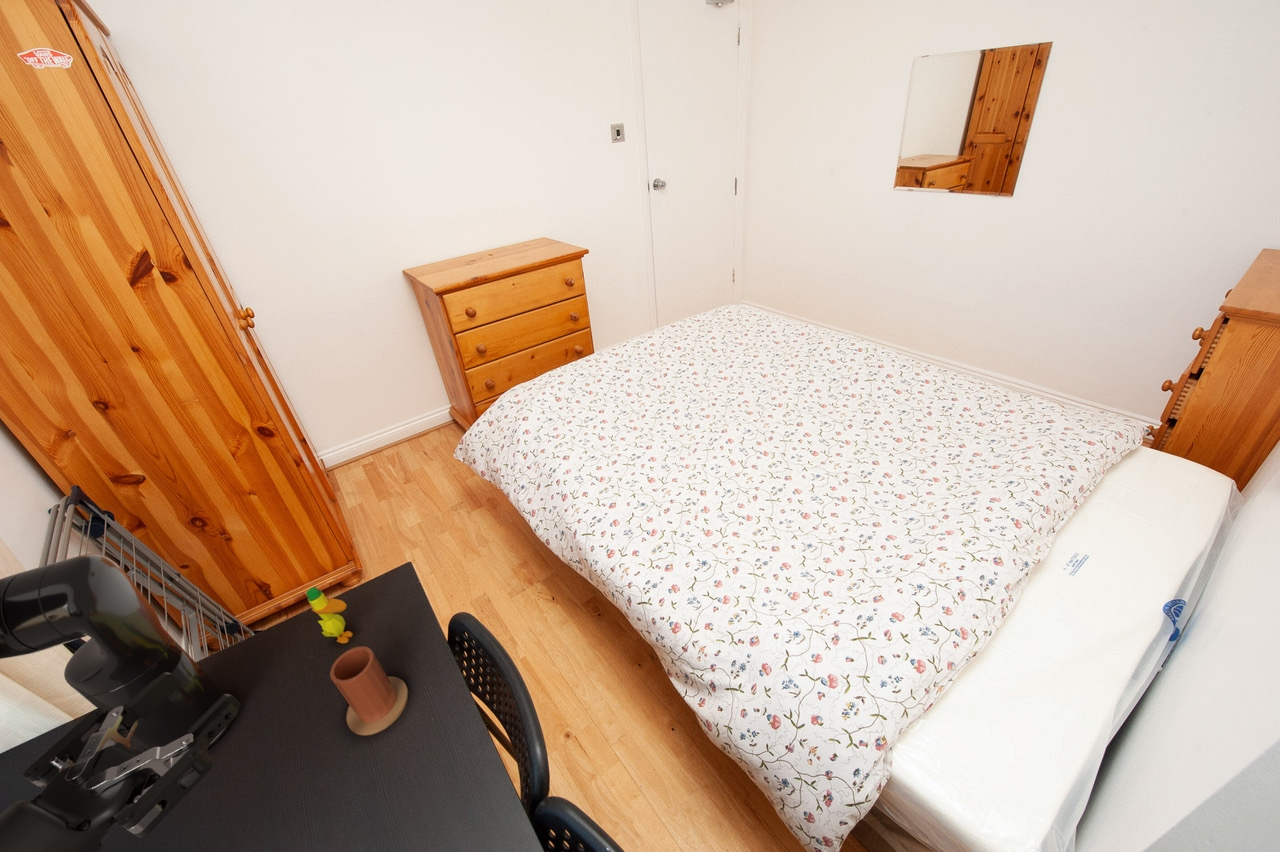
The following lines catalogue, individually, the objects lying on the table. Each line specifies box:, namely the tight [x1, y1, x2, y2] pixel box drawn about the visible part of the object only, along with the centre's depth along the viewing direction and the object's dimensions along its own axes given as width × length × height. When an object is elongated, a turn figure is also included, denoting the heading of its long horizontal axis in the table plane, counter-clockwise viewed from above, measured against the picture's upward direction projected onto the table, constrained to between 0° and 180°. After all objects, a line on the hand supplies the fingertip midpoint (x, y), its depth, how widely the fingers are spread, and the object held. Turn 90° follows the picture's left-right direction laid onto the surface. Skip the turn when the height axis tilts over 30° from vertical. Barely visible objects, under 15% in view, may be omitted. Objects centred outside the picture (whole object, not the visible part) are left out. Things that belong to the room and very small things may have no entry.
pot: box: [329, 645, 397, 723], centre depth 71 cm, size 5×5×10 cm
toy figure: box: [305, 586, 354, 644], centre depth 81 cm, size 7×4×12 cm, turn 84°
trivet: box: [345, 676, 409, 736], centre depth 74 cm, size 8×8×1 cm
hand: (203, 687), depth 50 cm, fingers open, 8 cm apart
